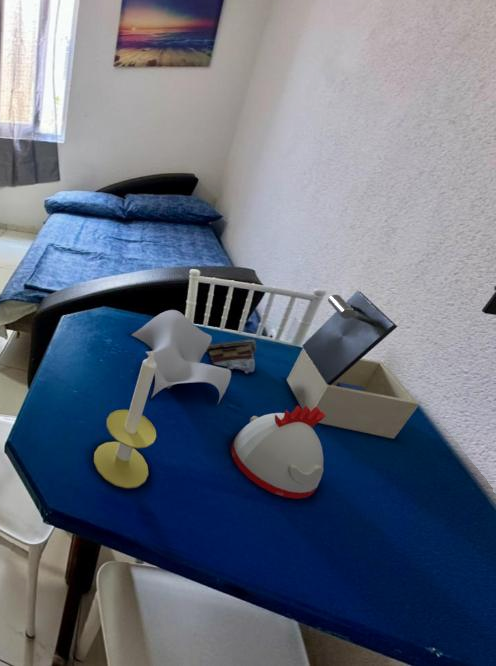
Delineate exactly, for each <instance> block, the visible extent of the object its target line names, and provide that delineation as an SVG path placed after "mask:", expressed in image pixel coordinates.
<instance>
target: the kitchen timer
mask: <svg viewBox="0 0 496 666" xmlns="http://www.w3.org/2000/svg"><path fill="white" fill-rule="evenodd" d="M325 416H326V415H325V414H324V413H323V412H320V410H319V409H318V408H317V407H315V408H314V409H313V410H312V411H311V412H310V409H309V408H308V407H307V406H305V407H304V408H303V410H302V408H301V406H300V405H296V407H295V408H294V409H293V410H292V412H291V413H290V412H289V411H288V410H287V409H285V411H284V412H275V413H268V414H264V415H261V416H257V415H253V416H252V417H250V419H249V423H248V424H246V425H245V426H244V427H242V429H241V430H240V431H239V432H238V433H237V435H236V437H235V438H234V440H233V442H232V444H231V450H230V451H231V456H232V458H233V461H234V463H235V464H236V466H237V467H238V469H239V470H240V471H241V472H242V473H243V474H244V475H245V476H246V477H247V478H248V479H250V480H251V481H252V482H253V483H255V484H256V485H257V486H258V487H260V488H261V489H264V490H266V491H268V492H270V493H271V494H275V495H278V496H281V497H283V498H288V499H294V500H295V499H296V500H298V499H299V500H300V499H305V498H308V497H309V496H311V495H312V494H314V493H315V491H316V489H317V488H318V486H319V484H320V482H321V479H322V477H323V473H324V453H323V446H322V443H321V441H320V438H319V436H318V435H317V433H316V432H315V430H314V426H316V425H317V424H319V423H318V422H319V421H321V420H322V419H323V418H324V417H325Z"/></svg>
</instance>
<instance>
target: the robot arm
mask: <svg viewBox="0 0 496 666" xmlns="http://www.w3.org/2000/svg"><path fill="white" fill-rule="evenodd" d="M493 291H494V293H493V294H492V296H491V297H490V298H489V299H488V301H487V302H486V303H485V305H484V306H483V308H482V309H481V312H482V313H484V314H486V315H494V316H496V285H494V287H493Z"/></svg>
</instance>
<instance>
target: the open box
mask: <svg viewBox="0 0 496 666" xmlns="http://www.w3.org/2000/svg"><path fill="white" fill-rule="evenodd" d="M286 382H287V384H288V385H289V387H290V390H291V391H292V394H293V395H294V397H295V399H296V400H297V402H298V404H299V407H300V408H301V409H302V410H303V408H304V407H305V406H307V407H308V408H309V409H310V412H311V411H312V410H313V409H314V408H315V407H317V408H318V409H319V410H320V412H323V413H324V414H325V415H326V416H325V417H324V418H323V419H322V420H321V421H319V422H318V423H317V424H322V425H326V426H327V425H328V426H332V427H336V428H341V429H346V430H352V431H356V432H360V433H365V434H368V435H369V434H370V435H375V436H379V437H384V438H388V439H393V440H394V439H396V437H397V435H398V434H399V433H400V431H401V430H402V429H403V427H404V426H405V425H406V424H407V422H408V421H409V419H410V418H411V417H412V415H413V414H414V413H415V411H416V410H417V409H418V407H419V406H420V403H419V402H418V401H417V400H416V399H415V397H414V396H413V395H412V394H411V393H410V392H409V391H408V389H407V388H406V387H405V386H404V385H403V384H402V383H401V382H400V381H399V379H398V378H397V377H396V376H395V375H394V374H393V373H392V371H390V368H388V367H387V366H386V365H385V363H384V362H383V361H379V360H373V359H367V358H363V357H362V358H361V359H360V360H359V361H358V362H357V363H356V364H354V365H353V366H352V367H351V368H350V369H349V370H348V371H347V372H345V373H344V374H343V375H342V376H341V377H340V378H339V379H337V380H336V381H335V382H334V383H333V384H332V385H328V384H327V383H326V382H325V380H324V379H323V377H322V376H321V374H320V372H319V371H318V369H317V368H316V366H315V365H314V363H313V362H312V360H311V359H310V357H309V356H308V354H307V352H306V351H305V349H304V348H303V347H302V349H301V351H300V353H299V355H298V357H297V358H296V361H295V363H294V364H293V367H292V368H291V371H290V373H289V375H288V377H286ZM338 382H339V383H345V384H350V385H355V386H360V387H362V388H363V390H364V391H365V392H364V391H359V390H354V389H349V388H344V387H338V386H336V385H337V383H338Z"/></svg>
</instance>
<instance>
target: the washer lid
mask: <svg viewBox="0 0 496 666" xmlns="http://www.w3.org/2000/svg"><path fill="white" fill-rule="evenodd" d="M327 302H328V303H329V304H330V306H331V307H333V309H334V311H335V312H334V313H333V314H332V315H331V316H330V317H329V318H328V319H327V321H325V322H324V323H323V324H322V325H321V326H320V327H319V328H318V329H317V330H316V331H315V332H314V333H313V334H312V335H311V336H310V337H309V338H308V339H307V340H306V341H305V342H304V343H303V344H302V345H301V347H302V349H303V348H304V349H305V351H306V352H307V354H308V356H309V357H310V359H311V360H312V362H313V363H314V365H315V366H316V368H317V369H318V371H319V372H320V374H321V376H322V377H323V379H324V380H325V382H326V383H327V384H328V385H332V384H333V383H334V382H335V381H336V380H337V379H339V378H340V377H341V376H342V375H343V374H344V373H345V372H347V371H348V370H349V369H350V368H351V367H352V366H353V365H354V364H356V363H357V362H358V361H359V360H360V359H361V358H362V359H363V357H365V356H366V355H368V353H370V351H372V350H373V349H374V348H375V347H376V346H378V344H379V343H381V342H382V341H383V340H384V339H386V338H387V337H388V336H389V335H390V334H391V333H392V332H393V331H394V330H396V329H397V328H398V325H397V324H396V323H395V322H394V321H392V319H390V318H389V317H388V316H387V315H386V314H385V313H384V312H383V311H382V310H381V309H379V307H378V306H376V305H375V304H374V303H373V302H372V301H371V300H370V299H369V298H368V297H367V296H366V295H365V294H364V293H362V292H361V291H359V290H357V291H355V292H354V293H353V294H352V295H351V296H350V297H349V298H348V299H347V300H346V301H345V299H343V298H342V296H341V295H339V294H332V295H330V296H329V297H327Z"/></svg>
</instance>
